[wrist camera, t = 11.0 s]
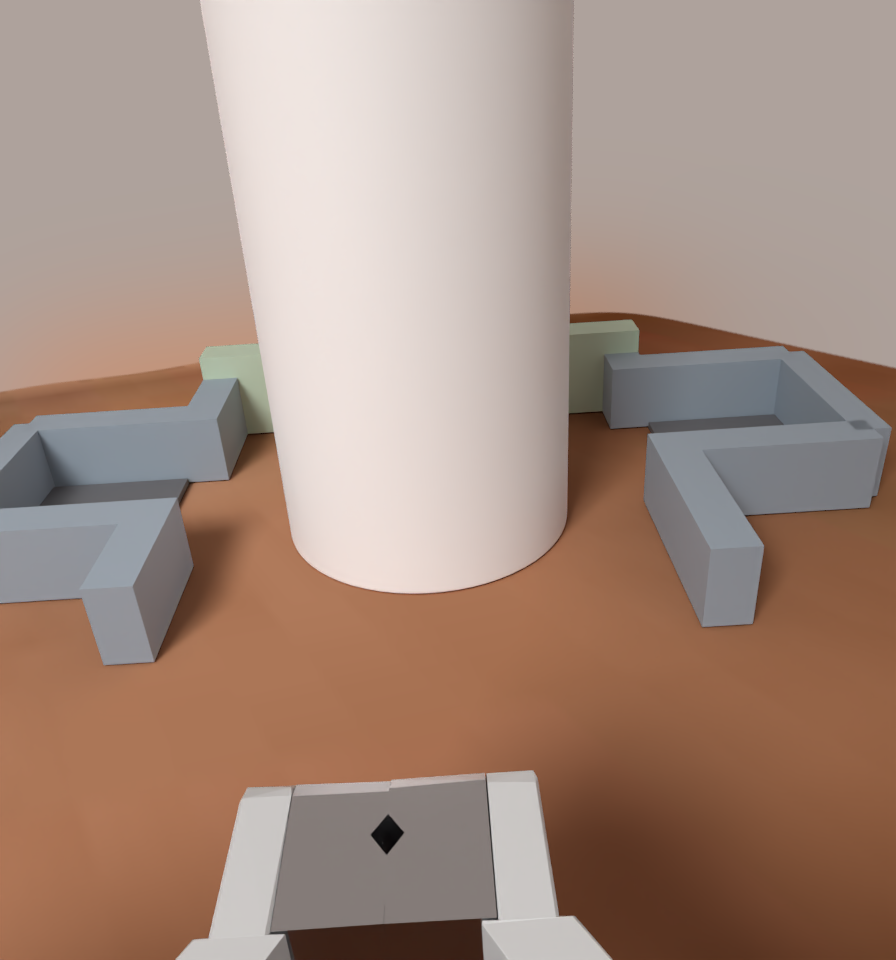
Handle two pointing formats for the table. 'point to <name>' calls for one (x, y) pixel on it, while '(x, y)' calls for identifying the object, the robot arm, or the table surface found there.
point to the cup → (407, 273)
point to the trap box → (592, 387)
